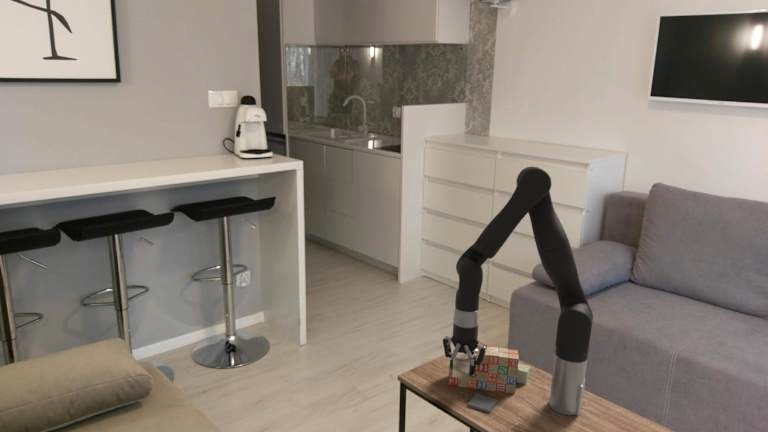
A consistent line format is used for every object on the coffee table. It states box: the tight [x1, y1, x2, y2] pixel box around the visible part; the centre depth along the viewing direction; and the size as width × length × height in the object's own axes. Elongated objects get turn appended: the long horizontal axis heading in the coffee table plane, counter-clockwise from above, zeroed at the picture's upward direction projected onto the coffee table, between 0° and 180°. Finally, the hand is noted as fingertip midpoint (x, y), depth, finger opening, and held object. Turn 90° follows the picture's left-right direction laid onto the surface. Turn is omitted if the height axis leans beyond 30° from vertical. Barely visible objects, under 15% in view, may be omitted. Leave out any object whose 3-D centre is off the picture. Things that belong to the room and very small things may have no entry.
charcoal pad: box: [467, 393, 498, 414], centre depth 178 cm, size 7×7×1 cm
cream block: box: [452, 353, 471, 381], centre depth 181 cm, size 5×5×6 cm
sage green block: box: [516, 362, 532, 386], centre depth 193 cm, size 4×4×4 cm
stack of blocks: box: [447, 346, 520, 394], centre depth 188 cm, size 21×6×12 cm, turn 80°
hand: (462, 372), depth 181 cm, fingers closed on cream block, 5 cm apart
